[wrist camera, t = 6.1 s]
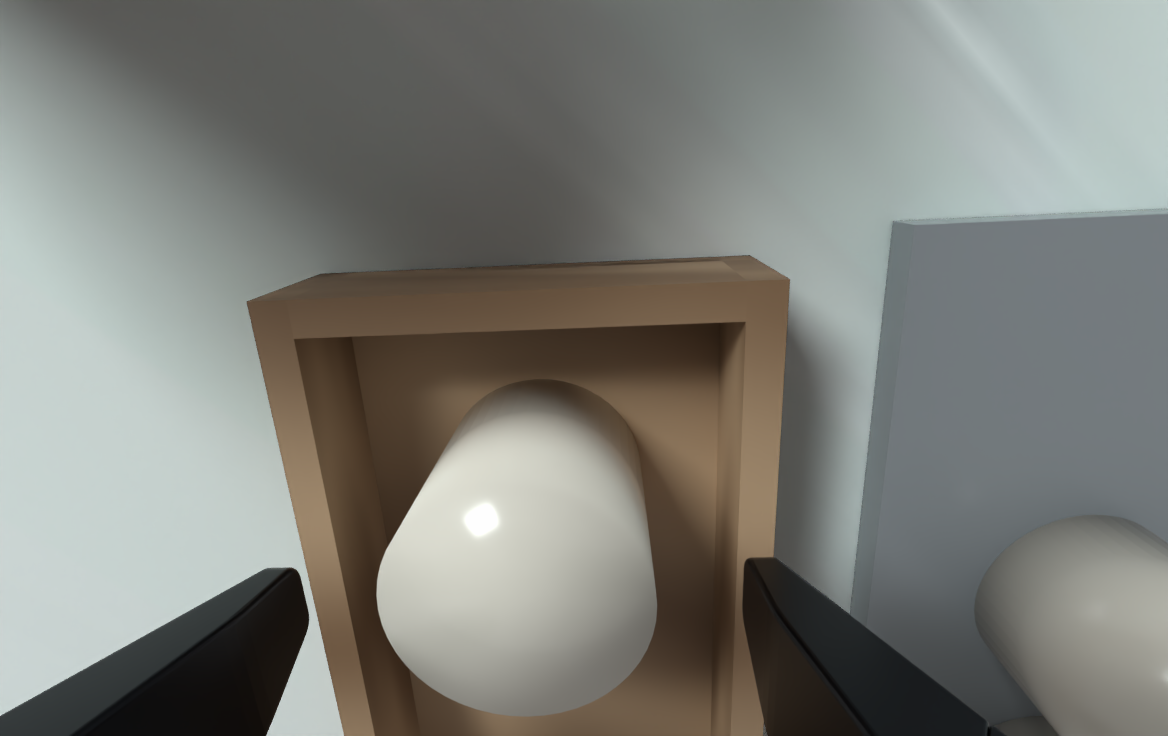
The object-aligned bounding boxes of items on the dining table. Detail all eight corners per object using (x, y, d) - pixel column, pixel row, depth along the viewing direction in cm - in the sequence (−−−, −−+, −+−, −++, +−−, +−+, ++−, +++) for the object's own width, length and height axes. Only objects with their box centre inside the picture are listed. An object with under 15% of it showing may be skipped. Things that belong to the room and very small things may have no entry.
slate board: (1152, 822, 15) (1182, 856, 14) (827, 822, 15) (838, 856, 15) (1366, 199, 10) (1428, 201, 10) (892, 220, 11) (914, 224, 10)
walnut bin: (729, 808, 15) (752, 926, 13) (418, 809, 16) (386, 923, 13) (750, 255, 11) (789, 279, 9) (320, 274, 11) (247, 301, 9)
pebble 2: (1146, 670, 13) (1377, 885, 9) (960, 672, 13) (1111, 883, 9) (1196, 513, 12) (1488, 682, 8) (991, 516, 12) (1179, 685, 8)
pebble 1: (642, 549, 12) (658, 715, 9) (460, 553, 13) (398, 717, 9) (638, 375, 11) (655, 478, 8) (438, 382, 12) (354, 486, 8)
